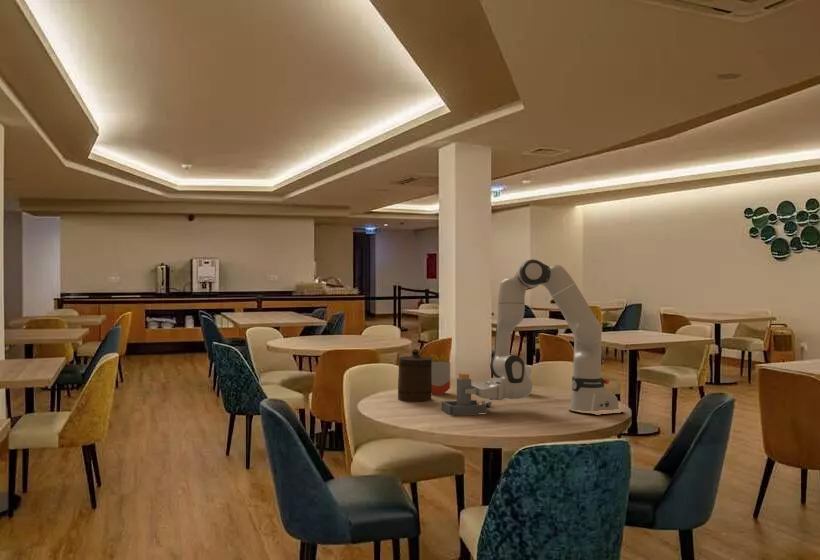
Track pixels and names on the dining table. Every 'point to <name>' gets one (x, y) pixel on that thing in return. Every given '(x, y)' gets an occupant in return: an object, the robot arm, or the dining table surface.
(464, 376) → the grey corked bottle
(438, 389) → the french fries container
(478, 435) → the dining table surface
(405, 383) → the wooden container
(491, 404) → the clip
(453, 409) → the tray
